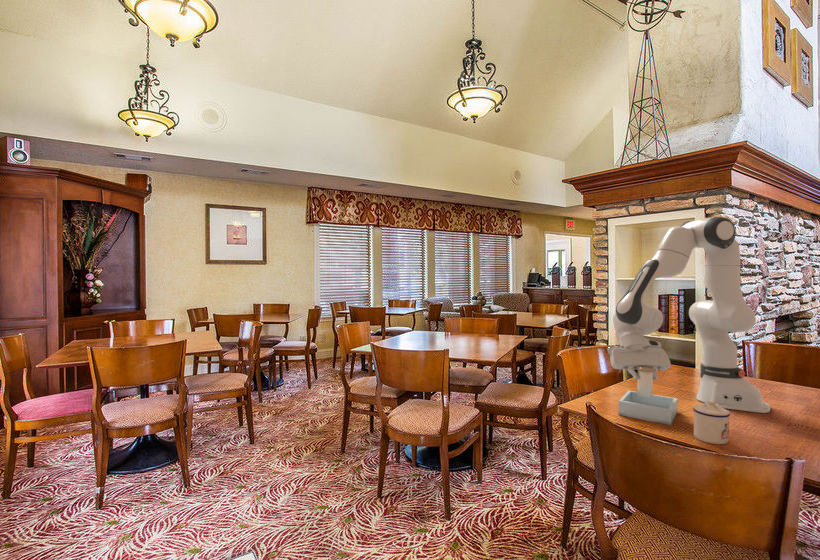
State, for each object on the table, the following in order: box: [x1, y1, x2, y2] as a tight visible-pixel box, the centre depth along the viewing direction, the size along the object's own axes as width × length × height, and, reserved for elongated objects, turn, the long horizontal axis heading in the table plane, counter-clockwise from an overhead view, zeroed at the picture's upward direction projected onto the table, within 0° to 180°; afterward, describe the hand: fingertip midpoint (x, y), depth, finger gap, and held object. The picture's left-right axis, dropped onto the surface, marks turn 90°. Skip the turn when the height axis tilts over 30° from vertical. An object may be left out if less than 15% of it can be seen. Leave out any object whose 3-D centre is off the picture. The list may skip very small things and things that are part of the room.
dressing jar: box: [636, 366, 654, 397], centre depth 153 cm, size 5×5×10 cm
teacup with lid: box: [693, 400, 731, 445], centre depth 130 cm, size 12×9×12 cm
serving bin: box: [617, 390, 678, 426], centre depth 151 cm, size 16×16×5 cm
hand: (646, 378), depth 152 cm, fingers closed on dressing jar, 5 cm apart
